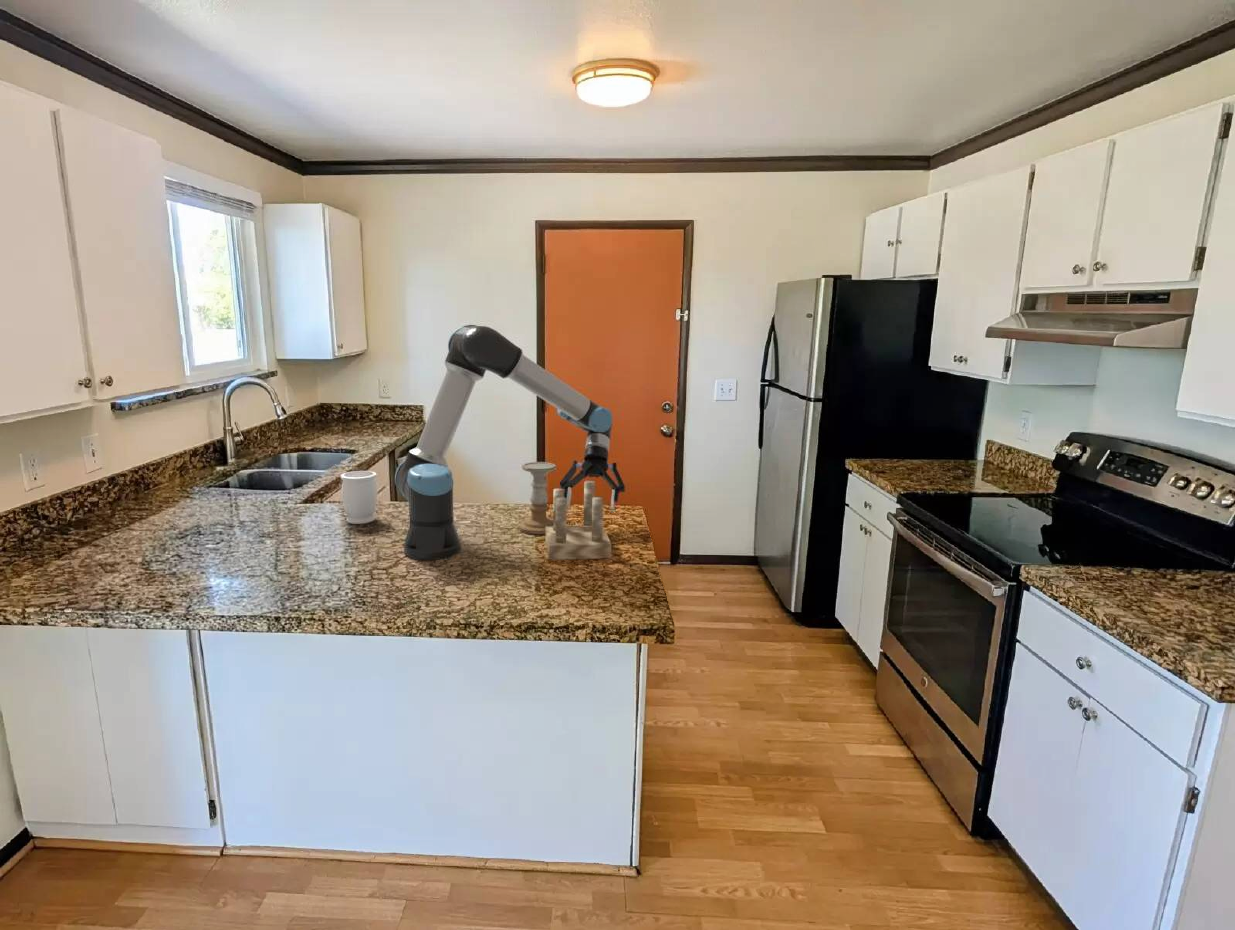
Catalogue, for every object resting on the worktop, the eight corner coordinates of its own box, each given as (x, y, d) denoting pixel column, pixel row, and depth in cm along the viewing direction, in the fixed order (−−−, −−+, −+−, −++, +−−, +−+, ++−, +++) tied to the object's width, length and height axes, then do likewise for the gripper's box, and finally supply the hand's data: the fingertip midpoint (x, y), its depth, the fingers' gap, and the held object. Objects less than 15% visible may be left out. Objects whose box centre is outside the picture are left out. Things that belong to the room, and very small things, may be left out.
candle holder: (542, 537, 198) (542, 471, 193) (510, 529, 204) (510, 465, 200) (566, 527, 208) (567, 464, 204) (535, 520, 214) (535, 459, 210)
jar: (366, 526, 203) (364, 479, 199) (336, 523, 205) (333, 476, 201) (385, 517, 213) (383, 471, 210) (356, 514, 215) (353, 469, 212)
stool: (548, 559, 180) (549, 502, 176) (545, 539, 196) (545, 486, 193) (610, 557, 183) (612, 501, 179) (602, 538, 199) (603, 486, 195)
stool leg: (583, 534, 202) (585, 483, 198) (582, 531, 205) (583, 480, 202) (594, 534, 202) (595, 483, 199) (593, 530, 205) (594, 480, 202)
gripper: (636, 459, 214) (630, 517, 203) (559, 455, 216) (550, 512, 205) (635, 446, 208) (630, 505, 197) (557, 442, 210) (547, 500, 199)
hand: (589, 509), depth 201 cm, fingers open, 13 cm apart
